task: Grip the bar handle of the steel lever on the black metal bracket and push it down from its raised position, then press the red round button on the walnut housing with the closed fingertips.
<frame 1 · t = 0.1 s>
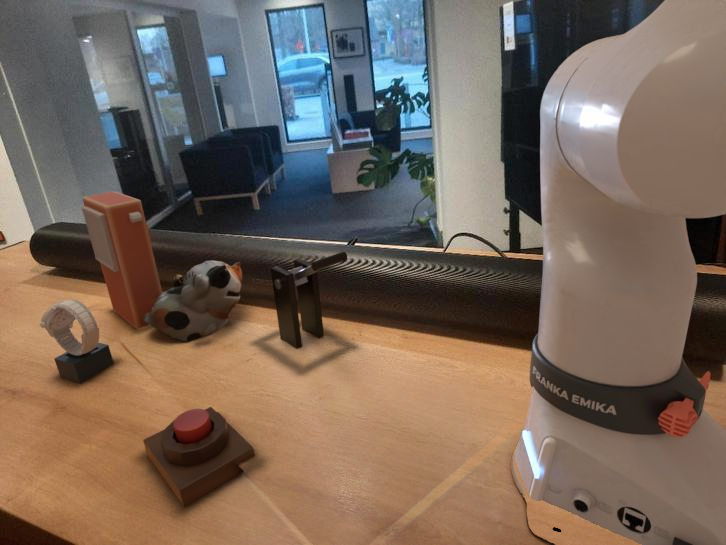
watch: (87, 371, 72), on the table
lucky cat figurine: (202, 327, 83), on the table
lever: (309, 270, 67), point 13 cm above the table, hinge at 28.0°
button box: (200, 459, 53), on the table
button: (192, 426, 52), point 4 cm above the table, slide at 0.1 cm
bracket: (303, 344, 75), on the table
control panel: (140, 316, 89), on the table
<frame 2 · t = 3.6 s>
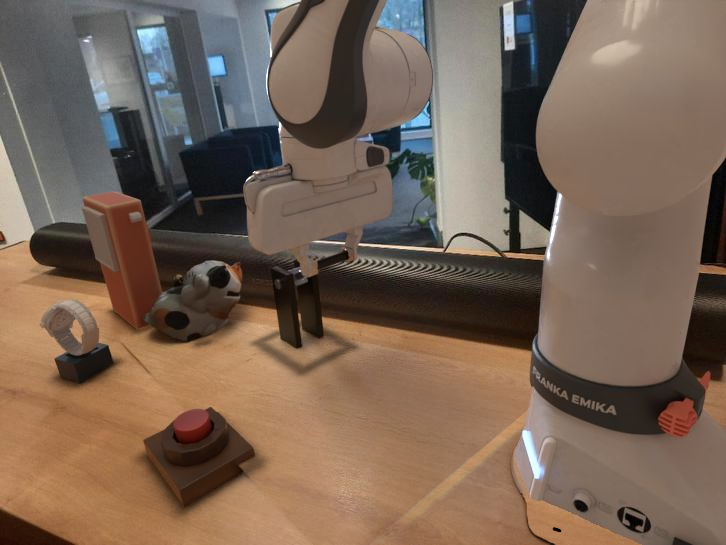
hand: (330, 267, 63), 15 cm above the table, tool pointing down, fingers closed on lever, 5 cm apart
lever: (309, 270, 67), point 13 cm above the table, hinge at 28.0°, touching gripper
everything else where it was.
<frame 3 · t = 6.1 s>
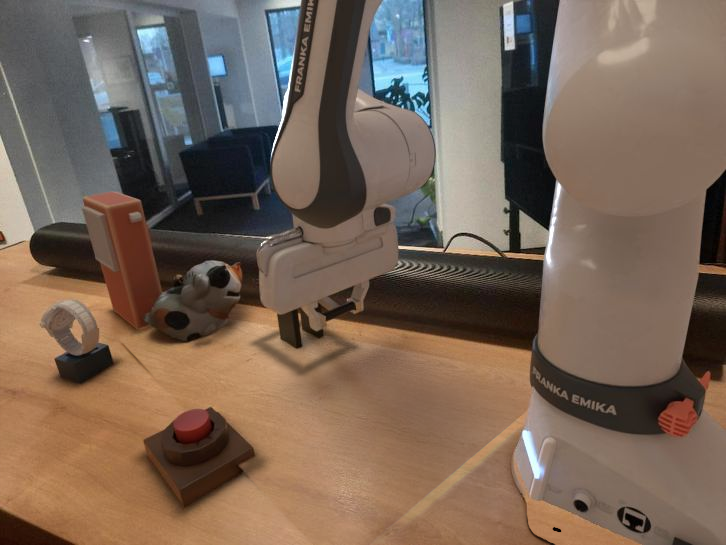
hand: (337, 319, 66), 8 cm above the table, tool pointing down, fingers closed on lever, 5 cm apart
lever: (314, 292, 68), point 10 cm above the table, hinge at -12.5°, touching gripper
everything else where it was.
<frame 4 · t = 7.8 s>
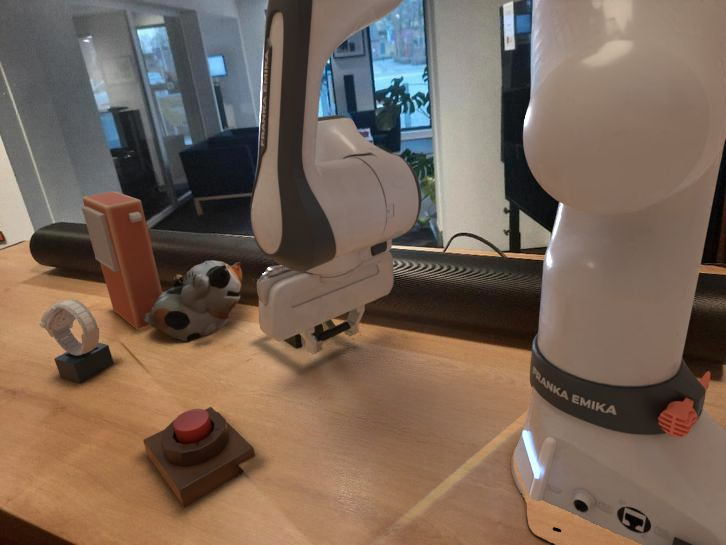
hand: (333, 342, 68), 4 cm above the table, tool pointing down, fingers closed on lever, 5 cm apart
lever: (312, 302, 69), point 8 cm above the table, hinge at -35.1°, touching gripper
everything else where it was.
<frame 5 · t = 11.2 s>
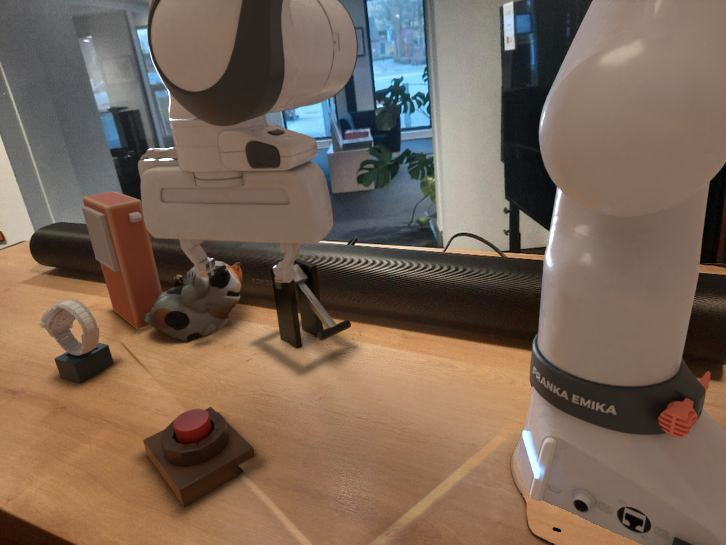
hand: (245, 278, 53), 18 cm above the table, tool pointing down, fingers open, 8 cm apart
lever: (312, 301, 69), point 9 cm above the table, hinge at -32.9°
everything else where it was.
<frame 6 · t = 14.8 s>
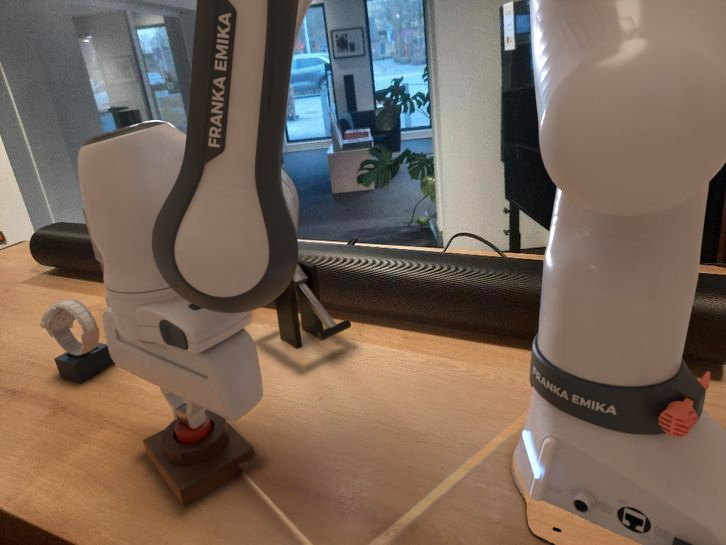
hand: (191, 421, 52), 5 cm above the table, tool pointing down, fingers closed, pressing on button
button: (193, 429, 52), point 4 cm above the table, slide at -0.4 cm, touching gripper
everything else where it was.
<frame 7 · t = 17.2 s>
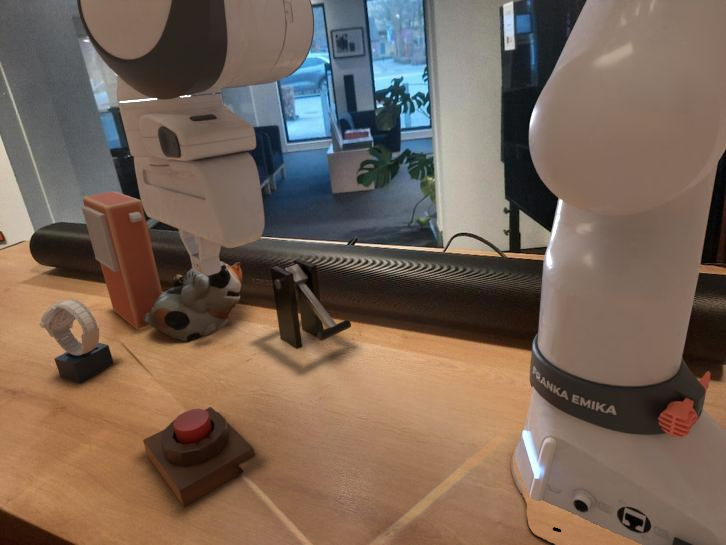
hand: (207, 271, 50), 20 cm above the table, tool pointing down, fingers closed
button: (192, 426, 52), point 4 cm above the table, slide at 0.1 cm
everything else where it was.
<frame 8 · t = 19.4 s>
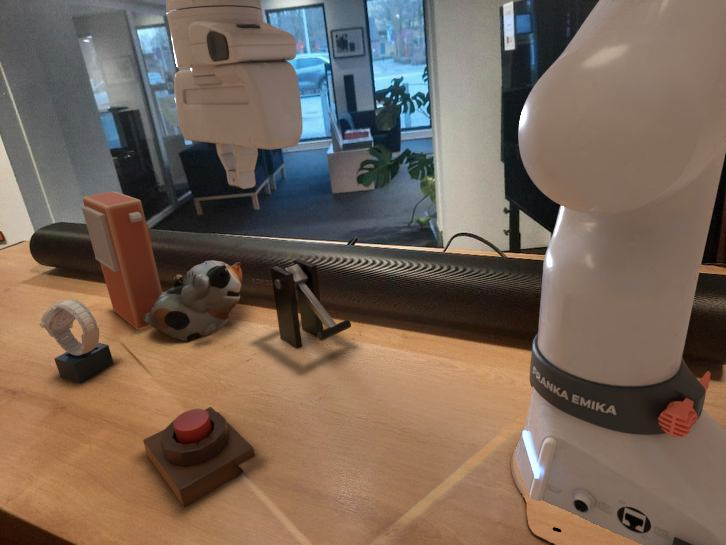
hand: (242, 186, 53), 27 cm above the table, tool pointing down, fingers closed
nothing on the table moved.
at the end: lever at -33° (first picture: +28°); button pushed in 1.0 cm at the most during the clip, back to where it started at the end; button slide at 0.1 cm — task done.
